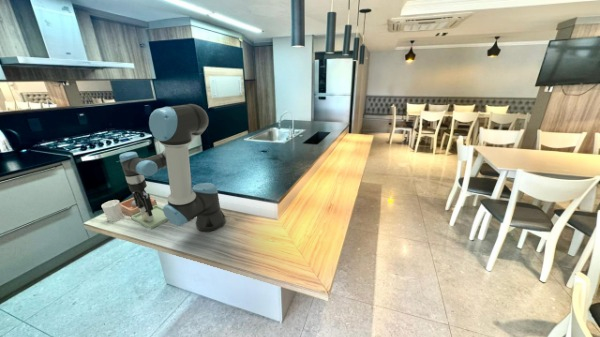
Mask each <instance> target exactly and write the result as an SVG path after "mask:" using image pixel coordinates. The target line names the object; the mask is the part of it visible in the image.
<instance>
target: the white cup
mask: <svg viewBox="0 0 600 337" xmlns="http://www.w3.org/2000/svg"><path fill="white" fill-rule="evenodd" d="M120 203H121V202H120V200H118V199H113V200H108V201H106V202H104V203H102V204H101V208H102V210H103V213H104V215H105V216H106V218H107V221H108V222H117V221H119V220H122V218H123V217H124V215H123V214H124V213H122V209H121V206H120Z"/></svg>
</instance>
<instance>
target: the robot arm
mask: <svg viewBox="0 0 600 337" xmlns="http://www.w3.org/2000/svg"><path fill="white" fill-rule="evenodd" d="M148 126H149V130H150V132H151V133H152V136H153V137H154V139H156V140H158V143H159V144H161V145H163V147H164V149H163V151H162V152H161V153H158V154H155V155H152V156H149V157H145V158H140V156H139V155H138V153H137V152H136V151H128V152H123V153H120V154H119V161H120V164H121V166H122V171H123V173H124V177H125V181H126V183H127V185H128V189H129V191H130V192H131V195H132V198H134V200H135V203H136V206H138V208H140V212H141V215H143V214H144V213H146V216H147V219H148V222H150V221H152V220H154V217H153V214H152V211H151V210H153V206H152V203H151V200H150V198H151V196H150V193H147V191H146V190H145V189H146V188H147V187H148V186H147V181H146V179H145V177H151V176H153V175H155V174H156V173H157V172H158V171H159V170H162V169H165V168H167V176H168V182H169V184H168V185H169V191H170V194H168V196H167V204H165V205H164V206H162V207H163V212H164V215H165V216H166V218H167V219H168V221H169V222H170V224H172V225H174V226H176V227H181V226H184V225H186V224H188V222H190V221H191V220H193V219H195V218H196V221H195V226H196V229H197V230H198V231H200V232H205V233H206V232H213V231H216V230H219V229H220V228H222V227H223V226H224V225H225V224H226V221H227V220H226V219H227V218H226V215H225V214H224V212H223V211H222V209H221V204H220V198H219V191H218V189H217V188H218V187H217V185H216V184H214V183H210V182H202V183H201V182H200V183H197V184H194V185H192V176H191V174H192V173H191V166H190V155H189V153H190V151H189V145H190V144H191V143H192V142H193V141H195V140H194V139H195V138H196V137H198V136H201V135H203V133H204V132H205V131H206V129H207V127H208V126H209V116H208V114H207V111H206V110H205V109H203V108H202V106H200V105H197V104H194V103H188V104H182V105H173V106H164V107H160V108H156V109H154V110H153V111H152V112H151V114H150V116H149V120H148ZM143 206H144V207H143Z"/></svg>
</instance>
